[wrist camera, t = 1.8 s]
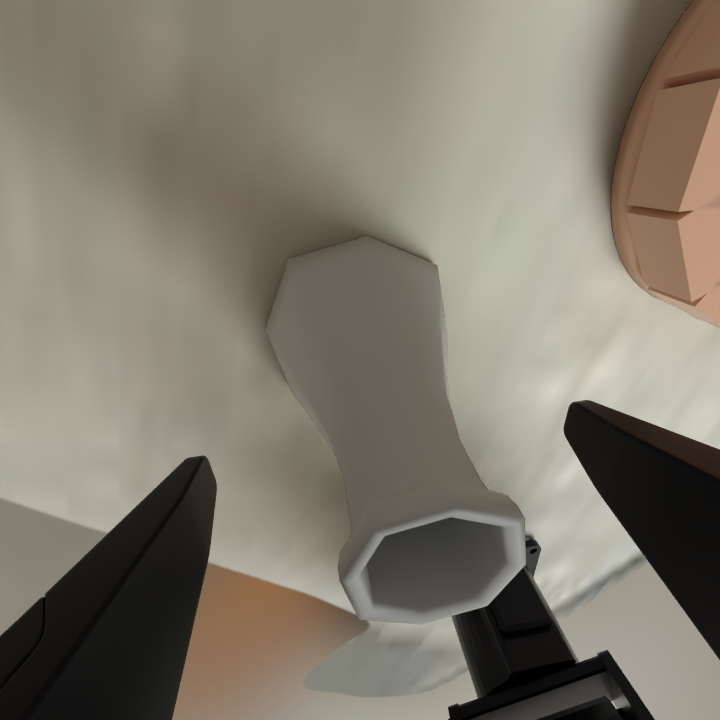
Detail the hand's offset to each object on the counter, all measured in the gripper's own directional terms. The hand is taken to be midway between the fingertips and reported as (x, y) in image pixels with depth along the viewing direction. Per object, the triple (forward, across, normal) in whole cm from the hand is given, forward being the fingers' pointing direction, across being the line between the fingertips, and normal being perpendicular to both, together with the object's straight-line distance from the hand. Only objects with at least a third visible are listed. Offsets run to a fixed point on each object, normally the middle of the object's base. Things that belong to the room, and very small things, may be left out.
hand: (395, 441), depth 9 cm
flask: (+7, 0, 0) cm, 7 cm away
